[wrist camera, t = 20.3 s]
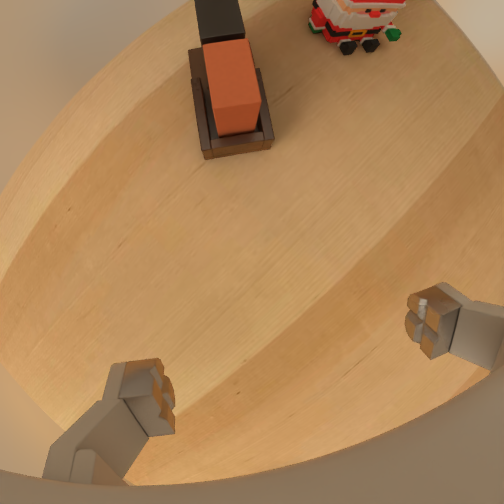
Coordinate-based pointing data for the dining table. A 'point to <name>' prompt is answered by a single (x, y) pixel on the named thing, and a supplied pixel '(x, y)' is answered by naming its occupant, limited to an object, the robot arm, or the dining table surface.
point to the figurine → (355, 22)
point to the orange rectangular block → (232, 86)
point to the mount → (211, 31)
